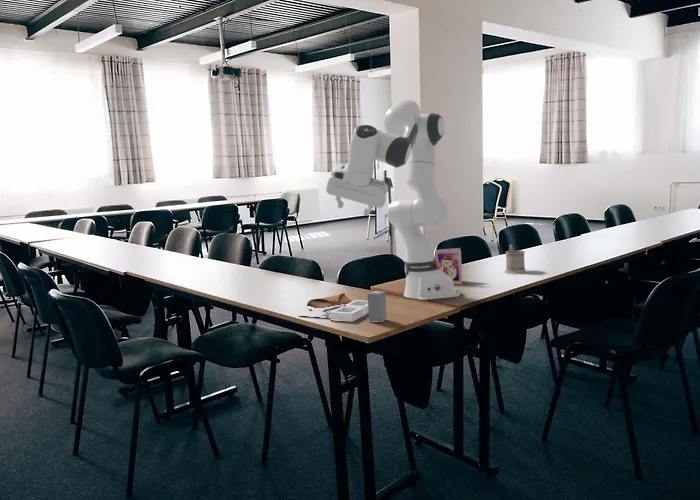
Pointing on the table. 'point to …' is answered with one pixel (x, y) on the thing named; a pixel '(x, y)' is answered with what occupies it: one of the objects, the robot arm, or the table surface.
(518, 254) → the stone pedestal
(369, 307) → the block
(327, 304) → the sunglasses case
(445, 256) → the greeting card
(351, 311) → the white compartment tray
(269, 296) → the table surface
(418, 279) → the robot arm
